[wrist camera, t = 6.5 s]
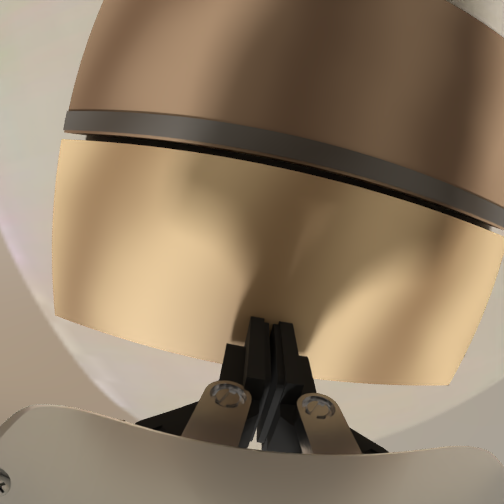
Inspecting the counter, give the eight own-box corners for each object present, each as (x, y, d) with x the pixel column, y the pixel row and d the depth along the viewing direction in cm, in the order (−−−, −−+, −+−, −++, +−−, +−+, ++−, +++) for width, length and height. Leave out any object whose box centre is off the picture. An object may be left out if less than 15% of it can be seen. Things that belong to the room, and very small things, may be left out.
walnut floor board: (503, 56, 9) (520, 50, 7) (489, 225, 12) (509, 232, 10) (140, -38, 9) (129, -53, 7) (82, 134, 11) (62, 132, 10)
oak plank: (489, 232, 12) (507, 238, 10) (437, 370, 14) (448, 385, 12) (80, 141, 11) (61, 139, 10) (70, 303, 13) (55, 315, 12)
